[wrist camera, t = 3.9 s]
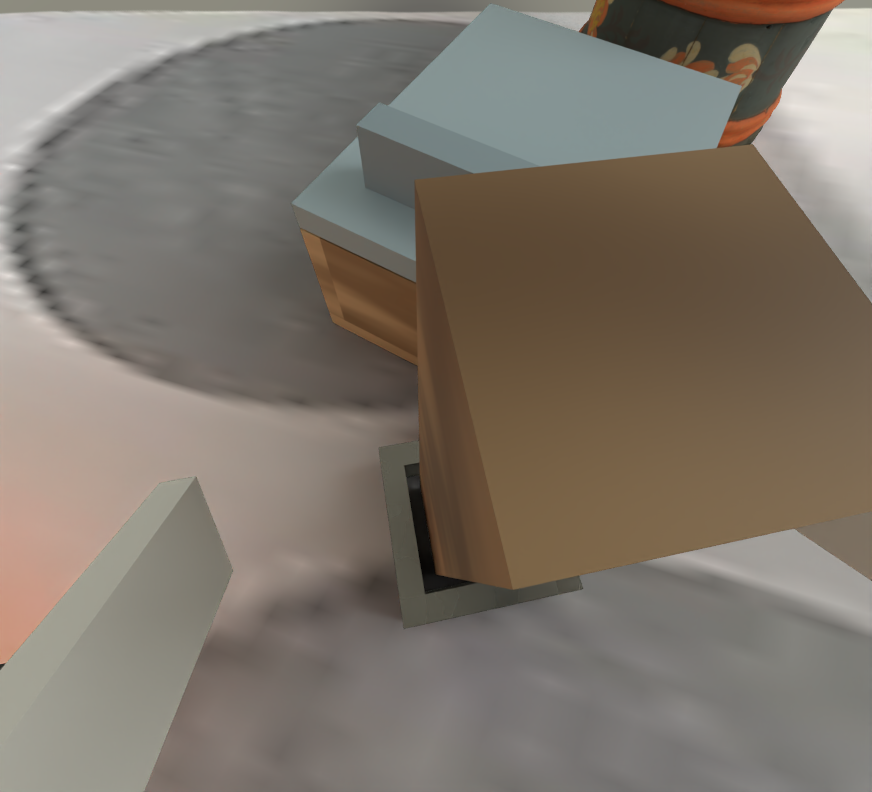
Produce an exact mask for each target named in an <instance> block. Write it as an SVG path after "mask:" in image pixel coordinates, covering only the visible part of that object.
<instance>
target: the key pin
mask: <svg viewBox="0 0 872 792" xmlns="http://www.w3.org/2000/svg"><path fill="white" fill-rule="evenodd" d="M414 187H415V242H416V296H417V351H418V405H419V460H420V490H421V496H422V502H423V507H424V513H425V519H426V524H427V530H428V536H429V542H430V547H431V553H432V559H433V565H434V570H435V574H436V575H441V576H446V577H451V578H456V579H461V580H466V581H471V582H476V583H481V584H486V585H491V586H496V587H501V588H506V589H512V590H515V589H519V588H524V587H528V586H533V585H538V584H542V583H547V582H551V581H556V580H560V579H565V578H570V577H574V576H579V575H583V574H588V573H593V572H597V571H602V570H606V569H611V568H615V567H620V566H625V565H629V564H634V563H638V562H643V561H647V560H652V559H657V558H661V557H666V556H670V555H675V554H679V553H684V552H689V551H693V550H698V549H702V548H707V547H711V546H716V545H721V544H725V543H730V542H734V541H739V540H743V539H748V538H753V537H757V536H762V535H766V534H771V533H776V532H780V531H785V530H789V529H794V528H798V527H803V526H808V525H812V524H817V523H821V522H826V521H830V520H835V519H840V518H844V517H849V516H853V515H858V514H862V513H867V512H872V303H871V302H870V300H869V299H868V298H867V296H866V295H865V294H864V292H863V291H862V290H861V288H860V287H859V286H858V284H857V283H856V282H855V280H854V279H853V278H852V276H851V275H850V274H849V272H848V271H847V270H846V268H845V267H844V266H843V264H842V263H841V262H840V260H839V259H838V258H837V256H836V255H835V254H834V252H833V251H832V250H831V248H830V247H829V246H828V244H827V243H826V242H825V240H824V239H823V238H822V236H821V235H820V234H819V232H818V231H817V230H816V228H815V227H814V226H813V224H812V223H811V222H810V220H809V219H808V218H807V216H806V215H805V214H804V212H803V211H802V209H801V208H800V207H799V205H798V204H797V203H796V201H795V200H794V199H793V197H792V196H791V195H790V193H789V192H788V191H787V189H786V188H785V187H784V185H783V184H782V183H781V181H780V180H779V179H778V177H777V176H776V175H775V173H774V172H773V171H772V169H771V168H770V167H769V165H768V164H767V163H766V161H765V160H764V159H763V157H762V156H761V155H760V153H759V152H758V151H757V149H756V148H755V147H754V145H753V144H751V145H742V146H732V147H723V148H713V149H704V150H694V151H684V152H675V153H665V154H656V155H646V156H636V157H627V158H617V159H608V160H598V161H589V162H579V163H569V164H560V165H550V166H541V167H531V168H522V169H512V170H502V171H493V172H483V173H474V174H464V175H455V176H445V177H435V178H426V179H416V180H414Z"/></svg>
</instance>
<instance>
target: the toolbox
mask: <svg viewBox="0 0 872 792" xmlns="http://www.w3.org/2000/svg"><path fill="white" fill-rule="evenodd" d="M300 230H301V233H302V236H303V239H304V242H305V244H306V247H307V250H308V253H309V256H310V258H311V261H312V264H313V267H314V270H315V273H316V275H317V278H318V281H319V284H320V287H321V290H322V292H323V295H324V298H325V301H326V304H327V307H328V309H329V312H330V315H331V318H332V321H333V323H335V324H337V325H339V326H341V327H343V328H345V329H347V330H349V331H351V332H352V333H354V334H356V335H358V336H360V337H362V338H364V339H366V340H368V341H370V342H372V343H374V344H376V345H378V346H380V347H382V348H384V349H385V350H387V351H389V352H391V353H393V354H395V355H397V356H399V357H401V358H403V359H405V360H407V361H409V362H411V363H413V364H415V365H416V366H418V351H417V296H416V282H414V281H412V280H409V279H407V278H405V277H403V276H401V275H399V274H397V273H395V272H393V271H391V270H388V269H386V268H384V267H382V266H380V265H378V264H376V263H374V262H372V261H370V260H367V259H365V258H363V257H361V256H359V255H357V254H355V253H353V252H351V251H349V250H346V249H344V248H342V247H340V246H338V245H336V244H334V243H332V242H330V241H328V240H325V239H323V238H321V237H319V236H317V235H315V234H313V233H311V232H309V231H307V230H304V229H302V228H300Z"/></svg>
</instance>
